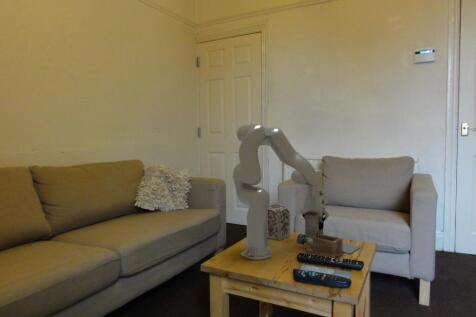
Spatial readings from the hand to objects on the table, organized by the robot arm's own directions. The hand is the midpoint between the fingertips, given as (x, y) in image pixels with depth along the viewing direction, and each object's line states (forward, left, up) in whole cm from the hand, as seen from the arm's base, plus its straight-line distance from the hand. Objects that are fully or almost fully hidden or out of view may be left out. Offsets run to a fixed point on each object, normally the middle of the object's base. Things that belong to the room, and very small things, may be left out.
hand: (314, 228), depth 177 cm
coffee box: (0, 0, -8) cm, 8 cm away
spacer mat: (+1, -15, -8) cm, 17 cm away
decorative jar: (-2, +22, -8) cm, 23 cm away
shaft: (-11, -5, -6) cm, 13 cm away
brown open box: (-11, -12, -8) cm, 18 cm away
